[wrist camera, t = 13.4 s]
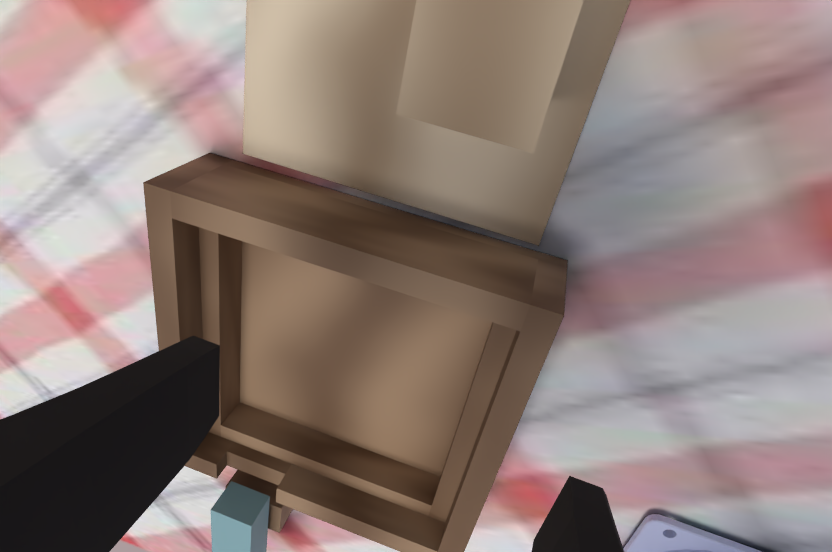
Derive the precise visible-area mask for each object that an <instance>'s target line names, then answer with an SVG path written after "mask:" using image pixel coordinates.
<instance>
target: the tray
mask: <svg viewBox="0 0 832 552" xmlns="http://www.w3.org/2000/svg"><path fill="white" fill-rule="evenodd" d="M143 184H144V195H145V206H146V217H147V227H148V238H149V249H150V260H151V270H152V281H153V292H154V303H155V313H156V324H157V335H158V346H159V351H160V350H163V349H165V348H167V347H169V346H171V345H173V344H175V343H178V342H180V341H182V340H184V339H187V338H189V337H191V336H196V337H199V338H201V339H204V340H207V341H209V342H212V343H215V344H217V345H220V393H219V417H218V419H217V420H216V422H215V423H214V425H213V426H212V428H211V429H210V431H209V432H208V434H207V435H206V437H205V438H204V440H203V441H202V443H201V444H200V445H199V447H198V448H197V450H196V451H195V453H194V454H193V455H192V457H191V458H190V460H189V461H188V462H187V463H186V464H185V465H184V466H186V467H189V468H191V469H194V470H196V471H199V472H202V473H204V474H207V475H209V476H212V477H214V478H218V476H219V475H220V473H221V472H222V471H223V469H224V468H225V467H226V465H228V466H230V467H233V468H235V469H238V470H237V471H236V473H235V474H234V476H233V477H232V478H231V480H230V481H229V483H228V484H227V485H226V488H227V486H228V485H229V484H230V482H231V481H232V482H235V483H237V484H240V485H243V486H245V487H248V488H250V489H253V490H255V491H258V492H260V493H263V494H265V495H268V496H270V502H269V517H268V528H269V529H271V530H274V531H276V532H279V533H280V531H281V529H282V527H283V526H284V524H285V522H286V520H287V518H288V517H289V515H290V513H291V511H292V510H293V509H294V510H297V511H300V512H302V513H305V514H307V515H310V516H312V517H315V518H317V519H320V520H322V521H325V522H327V523H330V524H332V525H335V526H337V527H340V528H342V529H345V530H347V531H350V532H352V533H355V534H357V535H360V536H362V537H365V538H367V539H370V540H372V541H375V542H377V543H380V544H382V545H385V546H387V547H390V548H393V549H395V550H398V551H400V552H464V551H465V548H466V546H467V544H468V541H469V539H470V536H471V534H472V532H473V529H474V527H475V525H476V522H477V520H478V518H479V515H480V513H481V510H482V508H483V506H484V503H485V501H486V499H487V496H488V494H489V492H490V489H491V487H492V484H493V482H494V480H495V477H496V475H497V473H498V470H499V468H500V466H501V463H502V461H503V458H504V456H505V454H506V451H507V449H508V447H509V444H510V442H511V440H512V437H513V435H514V432H515V430H516V428H517V425H518V423H519V421H520V418H521V416H522V414H523V411H524V409H525V406H526V404H527V402H528V399H529V397H530V395H531V392H532V390H533V388H534V385H535V383H536V380H537V378H538V376H539V373H540V371H541V369H542V366H543V364H544V362H545V359H546V357H547V354H548V352H549V350H550V347H551V345H552V343H553V340H554V338H555V336H556V333H557V331H558V329H559V326H560V324H561V321H562V319H563V317H564V308H565V293H566V278H567V263H568V260H564V259H561V258H558V257H554V256H551V255H548V254H544V253H541V252H538V251H534V250H531V249H528V248H525V247H521V246H518V245H515V244H511V243H508V242H505V241H501V240H498V239H495V238H491V237H488V236H485V235H481V234H478V233H475V232H471V231H468V230H465V229H461V228H458V227H455V226H451V225H448V224H445V223H441V222H438V221H435V220H431V219H428V218H425V217H421V216H418V215H415V214H411V213H408V212H405V211H402V210H398V209H395V208H392V207H388V206H385V205H382V204H378V203H375V202H372V201H368V200H365V199H362V198H358V197H355V196H352V195H348V194H345V193H342V192H338V191H335V190H332V189H328V188H325V187H322V186H318V185H315V184H312V183H308V182H305V181H302V180H298V179H295V178H292V177H289V176H285V175H282V174H279V173H275V172H272V171H269V170H265V169H262V168H259V167H255V166H252V165H249V164H245V163H242V162H239V161H235V160H232V159H229V158H225V157H222V156H219V155H215V154H212V153H208V154H206V155H204V156H202V157H199V158H197V159H195V160H193V161H190V162H188V163H186V164H184V165H181V166H179V167H177V168H175V169H173V170H170V171H168V172H166V173H164V174H161V175H159V176H157V177H155V178H152V179H150V180H148V181H146V182H143Z"/></svg>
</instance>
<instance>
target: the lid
mask: <svg viewBox="0 0 832 552" xmlns="http://www.w3.org/2000/svg"><path fill="white" fill-rule="evenodd" d="M629 3H630V0H247V8H246V46H245V85H244V124H243V154H245V155H249V156H252V157H255V158H258V159H261V160H265V161H268V162H271V163H274V164H278V165H281V166H284V167H287V168H290V169H294V170H297V171H300V172H303V173H306V174H310V175H313V176H316V177H319V178H323V179H326V180H329V181H332V182H335V183H339V184H342V185H345V186H348V187H352V188H355V189H358V190H361V191H364V192H368V193H371V194H374V195H377V196H381V197H384V198H387V199H390V200H393V201H397V202H400V203H403V204H406V205H409V206H413V207H416V208H419V209H422V210H426V211H429V212H432V213H435V214H438V215H442V216H445V217H448V218H451V219H455V220H458V221H461V222H464V223H467V224H471V225H474V226H477V227H480V228H484V229H487V230H490V231H493V232H496V233H500V234H503V235H506V236H509V237H512V238H516V239H519V240H522V241H525V242H529V243H532V244H535V245H538V246H539V244H540V241H541V238H542V236H543V233H544V230H545V228H546V225H547V222H548V220H549V217H550V214H551V212H552V209H553V206H554V204H555V201H556V198H557V196H558V193H559V190H560V188H561V185H562V182H563V179H564V177H565V174H566V171H567V169H568V166H569V163H570V161H571V158H572V155H573V153H574V150H575V147H576V145H577V142H578V139H579V137H580V134H581V131H582V129H583V126H584V123H585V121H586V118H587V115H588V113H589V110H590V107H591V105H592V102H593V99H594V97H595V94H596V91H597V89H598V86H599V83H600V81H601V78H602V75H603V72H604V70H605V67H606V64H607V62H608V59H609V56H610V54H611V51H612V48H613V46H614V43H615V40H616V38H617V35H618V32H619V30H620V27H621V24H622V22H623V19H624V16H625V14H626V11H627V8H628V6H629Z"/></svg>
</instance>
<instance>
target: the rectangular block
mask: <svg viewBox="0 0 832 552" xmlns="http://www.w3.org/2000/svg"><path fill="white" fill-rule="evenodd" d="M269 502H270V496H268V495H265V494H263V493H260V492H258V491H255V490H253V489H250V488H248V487H245V486H243V485H240V484H237V483H235V482H232V481H231V482H230V484H229V485H228V486H227V488H226V489H225V491H224V492H223V493H222V495H221V496H220V498H219V499H218V500H217V502H216V503H215V505H214V506H213V507H212V509H211V532H212V552H266V547H267V532H268V517H269Z"/></svg>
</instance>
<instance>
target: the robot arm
mask: <svg viewBox="0 0 832 552" xmlns="http://www.w3.org/2000/svg"><path fill="white" fill-rule="evenodd" d="M219 393H220V345H217V344H215V343H212V342H209V341H207V340H204V339H201V338H199V337H196V336H191V337H189V338H187V339H184V340H182V341H180V342H178V343H175V344H173V345H171V346H169V347H167V348H165V349H163V350H160V351H158V352H156V353H154V354H152V355H150V356H148V357H145V358H143V359H141V360H139V361H137V362H135V363H133V364H130V365H128V366H126V367H124V368H122V369H120V370H117V371H115V372H113V373H111V374H109V375H106V376H104V377H102V378H100V379H97V380H95V381H93V382H91V383H89V384H86V385H84V386H82V387H80V388H77V389H75V390H73V391H70V392H68V393H65V394H63V395H60V396H58V397H55V398H53V399H51V400H48V401H46V402H43V403H41V404H38V405H36V406H33V407H31V408H29V409H26V410H24V411H21V412H19V413H16V414H14V415H11V416H9V417H6V418H3V419H1V420H0V552H109V551H110V550H111V549H112V548H113V547H114V546H115V545H116V544H117V542H118V541H119V540H120V539H121V538H122V537H123V536H124V534H125V533H126V532H127V531H128V530H129V529H130V528H131V526H132V525H133V524H134V523H135V522H136V521H137V520H138V518H139V517H140V516H141V515H142V514H143V513H144V512H145V510H146V509H147V508H148V507H149V506H150V505H151V504H152V502H153V501H154V500H155V499H156V498H157V497H158V496H159V494H160V493H161V492H162V491H163V490H164V489H165V488H166V486H167V485H168V484H169V483H170V482H171V481H172V479H173V478H174V477H175V476H176V475H177V474H178V472H179V471H180V470H181V469H182V468H183V467H184V465H185V464H186V463H187V462H188V461H189V460H190V458H191V457H192V455H193V454H194V453H195V451H196V450H197V448H198V447H199V445H200V444H201V443H202V441H203V440H204V438H205V437H206V435H207V434H208V432H209V431H210V429H211V428H212V426H213V425H214V423H215V422H216V420H217V419H218V417H219ZM668 529H669V530H668ZM532 552H762V551H759V550H757V549H754V548H751V547H748V546H745V545H743V544H740V543H737V542H734V541H732V540H729V539H726V538H723V537H721V536H718V535H715V534H712V533H709V532H707V531H704V530H701V529H698V528H696V527H693V526H690V525H687V524H684V523H682V522H679V521H676V520H673V519H671V518H668V517H665V516H662V515H659V514H651V515H648V516H647V517H646V518H645V519H644V520H643V522H642V523H641V524H640V526H639V527H638V529H637V530H636V531H635V533H634V534H633V536H632V537H631V539H630V540H629V541H628V543H627V544H626V546H625V547H624V548H623V547H622V544H621V541H620V538H619V535H618V532H617V528H616V525H615V522H614V519H613V516H612V513H611V509H610V506H609V503H608V500H607V496H606V494H605V492H604V490H603V488H601V487H598V486H595V485H593V484H590V483H587V482H585V481H582V480H579V479H576V478H574V477H571V476H569V478H568V480H567V482H566V483H565V485H564V487H563V489H562V490H561V492H560V494H559V496H558V498H557V499H556V501H555V503H554V505H553V507H552V508H551V510H550V512H549V514H548V516H547V517H546V519H545V521H544V523H543V524H542V526H541V528H540V530H539V532H538V533H537V535H536V537H535V539H534V542H533V548H532Z"/></svg>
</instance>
